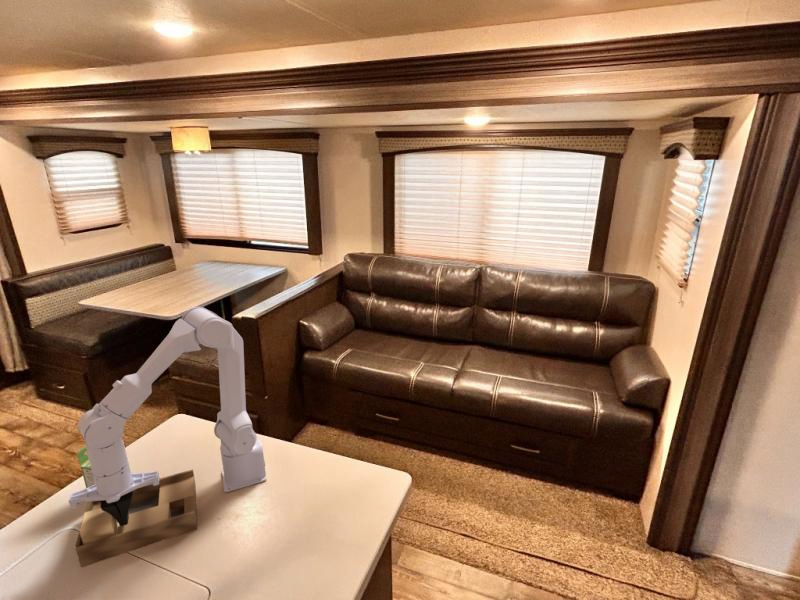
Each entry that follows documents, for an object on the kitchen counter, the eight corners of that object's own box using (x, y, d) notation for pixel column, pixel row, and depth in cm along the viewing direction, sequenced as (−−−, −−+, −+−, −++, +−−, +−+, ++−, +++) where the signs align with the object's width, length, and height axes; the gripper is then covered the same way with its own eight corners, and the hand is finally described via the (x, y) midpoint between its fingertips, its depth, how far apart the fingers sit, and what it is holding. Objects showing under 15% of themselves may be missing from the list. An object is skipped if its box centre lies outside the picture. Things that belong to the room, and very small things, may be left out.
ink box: (104, 505, 93) (90, 455, 89) (89, 502, 94) (75, 452, 90) (129, 482, 100) (117, 435, 95) (114, 480, 100) (103, 433, 96)
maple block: (118, 519, 86) (114, 503, 85) (115, 538, 82) (111, 522, 80) (89, 527, 84) (84, 512, 82) (84, 547, 79) (79, 531, 78)
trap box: (195, 484, 99) (192, 467, 98) (197, 529, 87) (193, 510, 86) (94, 513, 91) (89, 495, 89) (81, 567, 79) (74, 547, 77)
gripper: (58, 493, 73) (76, 551, 78) (152, 468, 79) (164, 523, 84) (67, 467, 79) (84, 523, 84) (154, 446, 85) (165, 499, 90)
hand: (124, 521), depth 84 cm, fingers closed
